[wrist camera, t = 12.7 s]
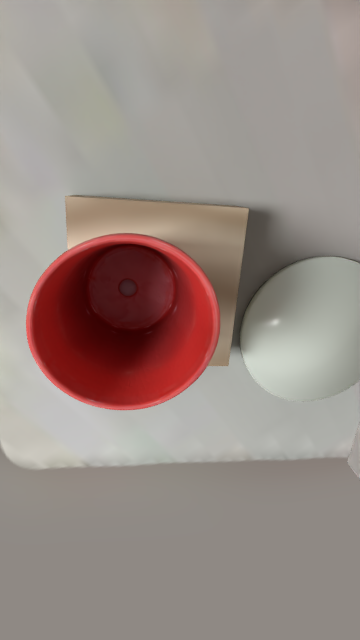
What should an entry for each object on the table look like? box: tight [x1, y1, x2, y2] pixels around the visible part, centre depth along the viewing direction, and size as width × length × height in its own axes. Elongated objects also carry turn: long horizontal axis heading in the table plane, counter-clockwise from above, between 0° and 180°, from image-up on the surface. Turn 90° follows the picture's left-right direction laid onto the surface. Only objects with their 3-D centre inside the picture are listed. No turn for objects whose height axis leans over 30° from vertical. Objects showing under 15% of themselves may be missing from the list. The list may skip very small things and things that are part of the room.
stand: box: [65, 195, 249, 366], centre depth 30 cm, size 14×14×4 cm
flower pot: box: [26, 233, 220, 410], centre depth 24 cm, size 11×11×10 cm
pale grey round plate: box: [240, 256, 360, 402], centre depth 36 cm, size 16×16×1 cm
